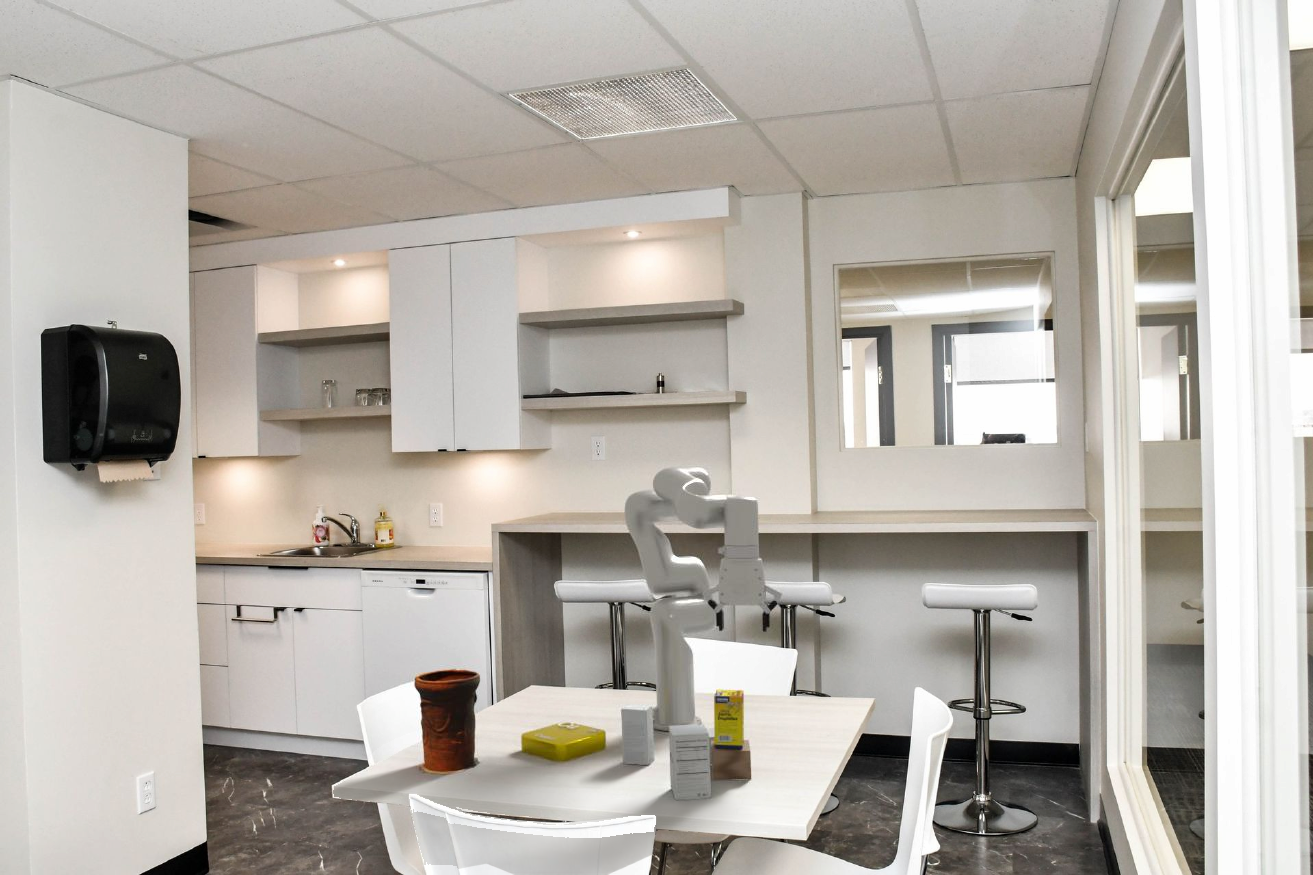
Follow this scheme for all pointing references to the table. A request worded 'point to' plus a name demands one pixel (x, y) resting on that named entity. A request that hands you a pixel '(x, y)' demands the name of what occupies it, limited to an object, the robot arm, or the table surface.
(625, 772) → the table surface
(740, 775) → the walnut block
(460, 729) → the vessel
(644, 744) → the skincare box
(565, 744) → the element tile
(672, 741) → the supplement box
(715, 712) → the supplement box
